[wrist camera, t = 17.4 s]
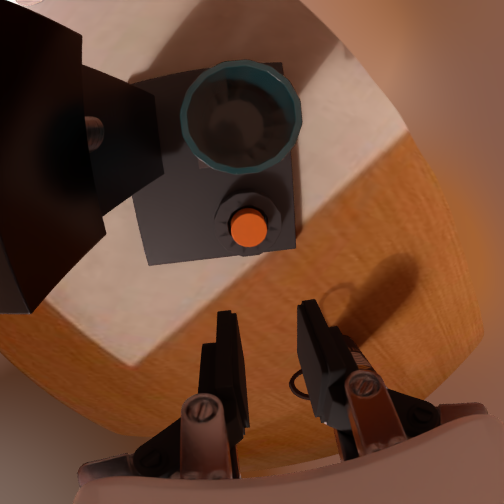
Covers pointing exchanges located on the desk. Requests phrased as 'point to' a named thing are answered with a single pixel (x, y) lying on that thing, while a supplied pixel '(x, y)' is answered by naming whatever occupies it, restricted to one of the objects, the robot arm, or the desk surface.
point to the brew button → (248, 227)
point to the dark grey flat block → (205, 192)
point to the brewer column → (62, 153)
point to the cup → (241, 117)
